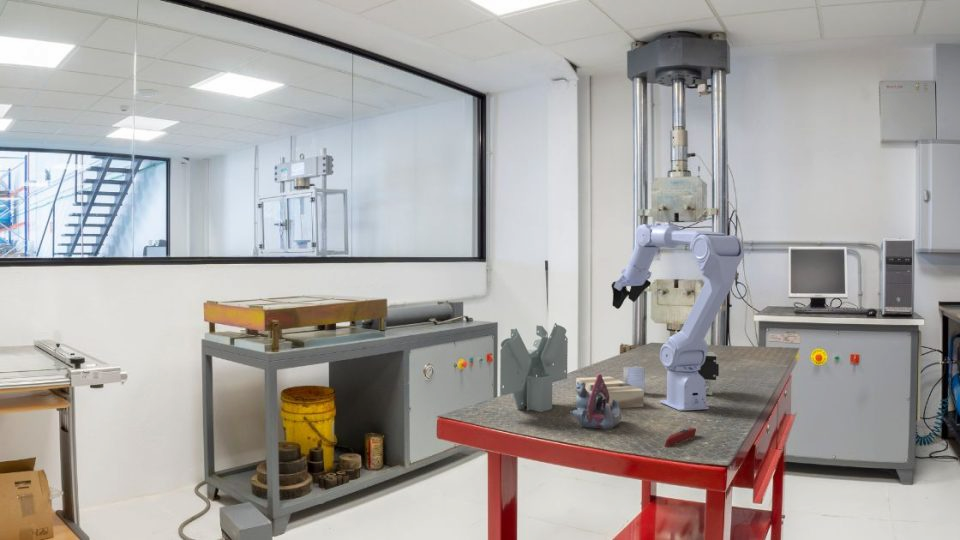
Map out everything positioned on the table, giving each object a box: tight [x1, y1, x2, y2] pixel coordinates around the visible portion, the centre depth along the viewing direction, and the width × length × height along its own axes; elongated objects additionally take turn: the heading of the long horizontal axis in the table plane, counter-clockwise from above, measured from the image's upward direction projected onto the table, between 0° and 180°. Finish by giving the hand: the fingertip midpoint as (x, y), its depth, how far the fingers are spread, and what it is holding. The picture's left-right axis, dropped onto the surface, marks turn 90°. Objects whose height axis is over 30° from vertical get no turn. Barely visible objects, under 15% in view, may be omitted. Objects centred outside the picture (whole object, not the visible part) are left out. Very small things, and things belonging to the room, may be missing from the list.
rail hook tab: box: [622, 365, 646, 395], centre depth 164 cm, size 2×5×7 cm, turn 104°
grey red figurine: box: [569, 373, 622, 430], centre depth 134 cm, size 11×11×12 cm
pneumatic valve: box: [698, 350, 720, 396], centre depth 164 cm, size 6×12×12 cm, turn 163°
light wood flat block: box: [575, 376, 645, 409], centre depth 157 cm, size 18×10×4 cm, turn 14°
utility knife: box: [664, 427, 697, 448], centre depth 122 cm, size 12×1×2 cm, turn 133°
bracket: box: [499, 322, 569, 413], centre depth 148 cm, size 28×7×20 cm, turn 139°
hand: (623, 303), depth 175 cm, fingers open, 7 cm apart
